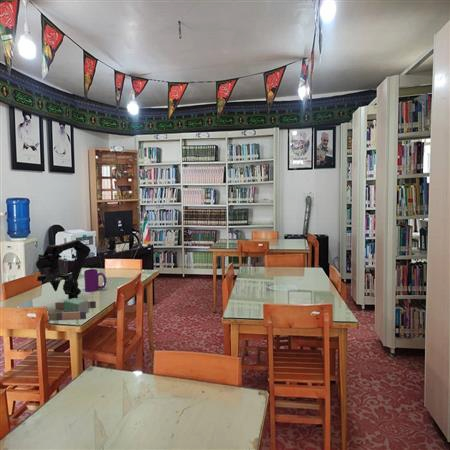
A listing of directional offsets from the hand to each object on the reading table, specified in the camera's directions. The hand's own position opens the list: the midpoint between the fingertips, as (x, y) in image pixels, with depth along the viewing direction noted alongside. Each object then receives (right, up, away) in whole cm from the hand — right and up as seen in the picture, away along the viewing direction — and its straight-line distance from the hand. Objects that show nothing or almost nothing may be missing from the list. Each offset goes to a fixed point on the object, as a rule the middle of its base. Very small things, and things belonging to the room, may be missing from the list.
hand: (55, 291), depth 216 cm
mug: (+9, -8, +44) cm, 45 cm away
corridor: (+11, -12, -6) cm, 18 cm away
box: (+14, -13, -3) cm, 19 cm away
